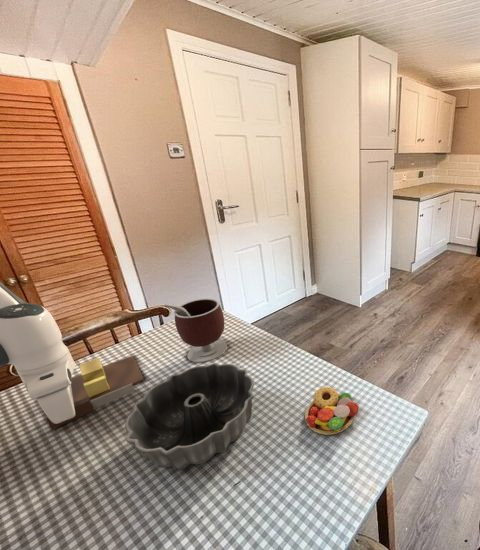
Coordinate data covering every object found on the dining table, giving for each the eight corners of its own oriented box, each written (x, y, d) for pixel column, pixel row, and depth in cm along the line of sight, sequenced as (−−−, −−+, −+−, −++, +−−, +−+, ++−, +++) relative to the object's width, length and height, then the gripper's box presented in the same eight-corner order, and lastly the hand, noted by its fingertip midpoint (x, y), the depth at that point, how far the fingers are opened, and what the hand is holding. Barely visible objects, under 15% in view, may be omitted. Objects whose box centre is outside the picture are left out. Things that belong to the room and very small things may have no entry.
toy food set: (321, 391, 86) (321, 382, 85) (364, 403, 82) (364, 394, 80) (295, 428, 75) (294, 418, 73) (344, 445, 70) (343, 435, 69)
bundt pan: (205, 503, 59) (194, 467, 55) (107, 465, 66) (91, 432, 62) (279, 403, 82) (275, 373, 78) (201, 383, 89) (194, 355, 86)
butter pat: (89, 397, 83) (83, 386, 81) (88, 394, 84) (83, 383, 82) (109, 389, 86) (105, 378, 84) (108, 386, 87) (104, 375, 85)
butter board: (51, 421, 77) (43, 406, 75) (49, 389, 87) (42, 375, 86) (144, 381, 90) (139, 367, 88) (133, 358, 101) (128, 345, 99)
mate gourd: (229, 336, 112) (219, 287, 105) (230, 357, 100) (218, 304, 93) (182, 346, 106) (167, 295, 99) (176, 370, 95) (160, 314, 87)
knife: (51, 429, 74) (45, 418, 72) (51, 424, 75) (45, 414, 74) (135, 392, 85) (131, 382, 83) (134, 388, 86) (130, 379, 85)
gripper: (29, 355, 76) (51, 398, 81) (28, 398, 62) (54, 446, 67) (63, 344, 80) (82, 385, 85) (69, 382, 66) (91, 428, 72)
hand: (70, 412), depth 76 cm, fingers closed on knife, 2 cm apart
